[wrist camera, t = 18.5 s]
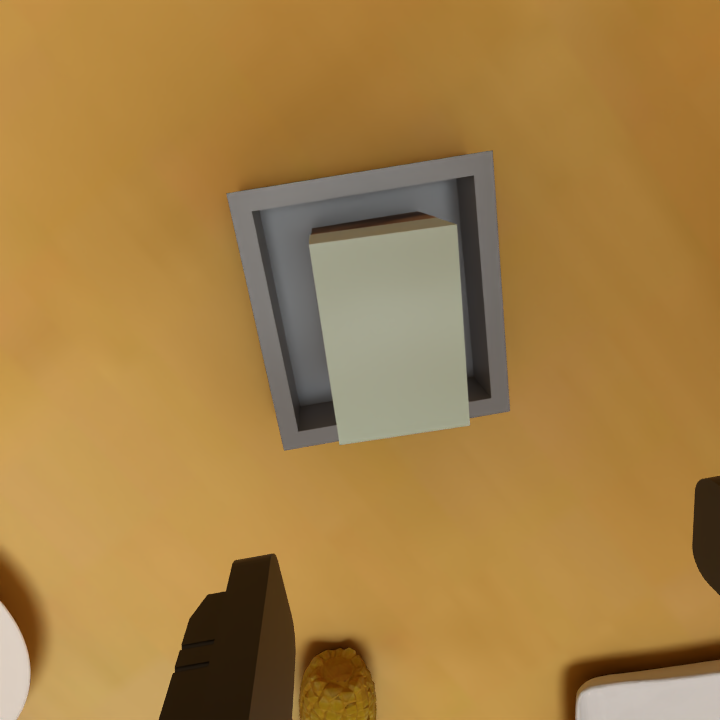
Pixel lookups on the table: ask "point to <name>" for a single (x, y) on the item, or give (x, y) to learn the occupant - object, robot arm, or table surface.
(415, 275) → the sage carton
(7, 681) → the candlestick
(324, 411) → the tray
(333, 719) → the food
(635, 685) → the salad plate
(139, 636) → the table surface
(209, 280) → the table surface
